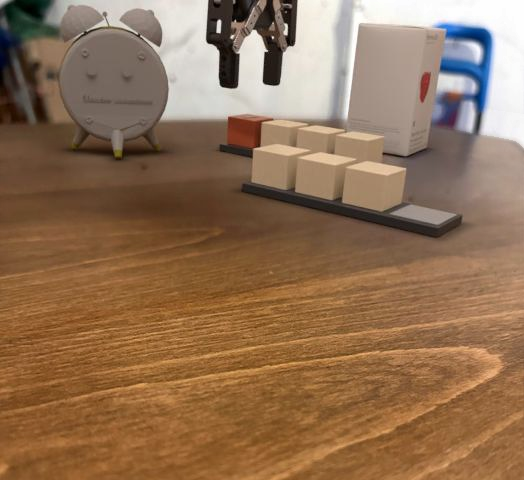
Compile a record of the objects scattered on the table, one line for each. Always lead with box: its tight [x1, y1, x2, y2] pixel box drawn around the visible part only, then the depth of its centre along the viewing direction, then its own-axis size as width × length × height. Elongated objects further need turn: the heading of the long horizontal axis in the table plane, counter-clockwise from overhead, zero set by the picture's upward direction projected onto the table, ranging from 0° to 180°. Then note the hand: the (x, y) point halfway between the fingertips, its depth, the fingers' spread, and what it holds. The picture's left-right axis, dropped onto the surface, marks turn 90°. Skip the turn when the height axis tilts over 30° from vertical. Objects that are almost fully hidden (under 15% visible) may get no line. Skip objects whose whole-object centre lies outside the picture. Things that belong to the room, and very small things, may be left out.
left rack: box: [219, 119, 385, 164], centre depth 78 cm, size 6×20×4 cm, turn 55°
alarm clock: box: [58, 4, 170, 160], centre depth 73 cm, size 12×7×15 cm, turn 102°
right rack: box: [241, 144, 464, 238], centre depth 61 cm, size 6×20×4 cm, turn 55°
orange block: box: [226, 113, 274, 149], centre depth 81 cm, size 4×4×3 cm
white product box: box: [345, 22, 447, 157], centre depth 87 cm, size 9×9×15 cm
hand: (250, 86), depth 79 cm, fingers open, 8 cm apart
